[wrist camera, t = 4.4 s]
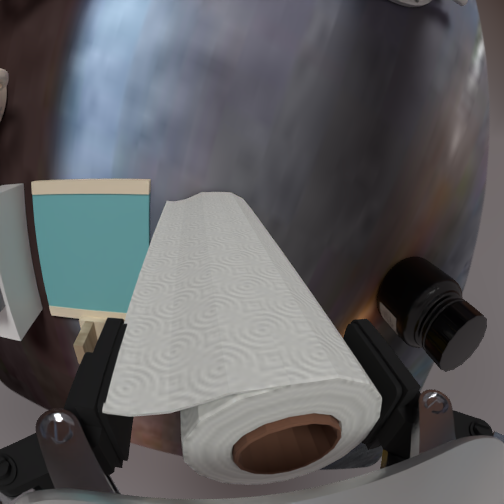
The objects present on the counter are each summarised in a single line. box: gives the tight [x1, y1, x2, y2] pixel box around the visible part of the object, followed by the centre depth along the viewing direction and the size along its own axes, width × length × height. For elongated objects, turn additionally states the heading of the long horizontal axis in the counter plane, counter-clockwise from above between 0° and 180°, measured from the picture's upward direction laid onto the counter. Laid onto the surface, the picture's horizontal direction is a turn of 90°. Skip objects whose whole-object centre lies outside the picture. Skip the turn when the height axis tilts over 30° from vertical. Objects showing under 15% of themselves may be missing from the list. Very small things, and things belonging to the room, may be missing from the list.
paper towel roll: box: [102, 192, 382, 485], centre depth 16 cm, size 7×6×21 cm
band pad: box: [31, 179, 151, 320], centre depth 25 cm, size 12×14×1 cm
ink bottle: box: [377, 257, 487, 372], centre depth 27 cm, size 10×9×12 cm
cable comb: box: [73, 316, 125, 364], centre depth 26 cm, size 10×2×6 cm, turn 84°
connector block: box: [0, 184, 43, 341], centre depth 20 cm, size 3×14×8 cm, turn 174°
